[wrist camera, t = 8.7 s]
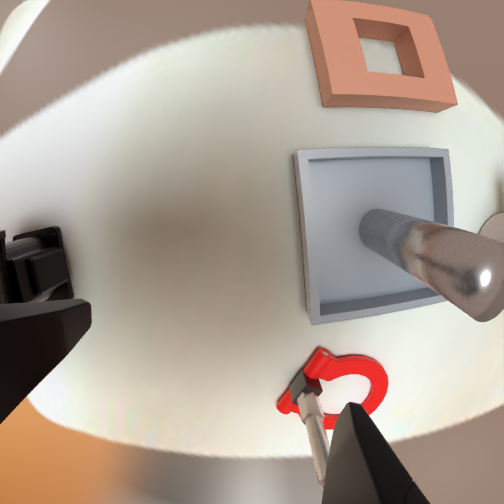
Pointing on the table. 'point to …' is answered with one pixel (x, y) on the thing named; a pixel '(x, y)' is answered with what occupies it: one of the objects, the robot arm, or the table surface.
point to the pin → (441, 259)
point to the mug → (494, 227)
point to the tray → (349, 218)
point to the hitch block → (353, 63)
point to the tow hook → (309, 388)
